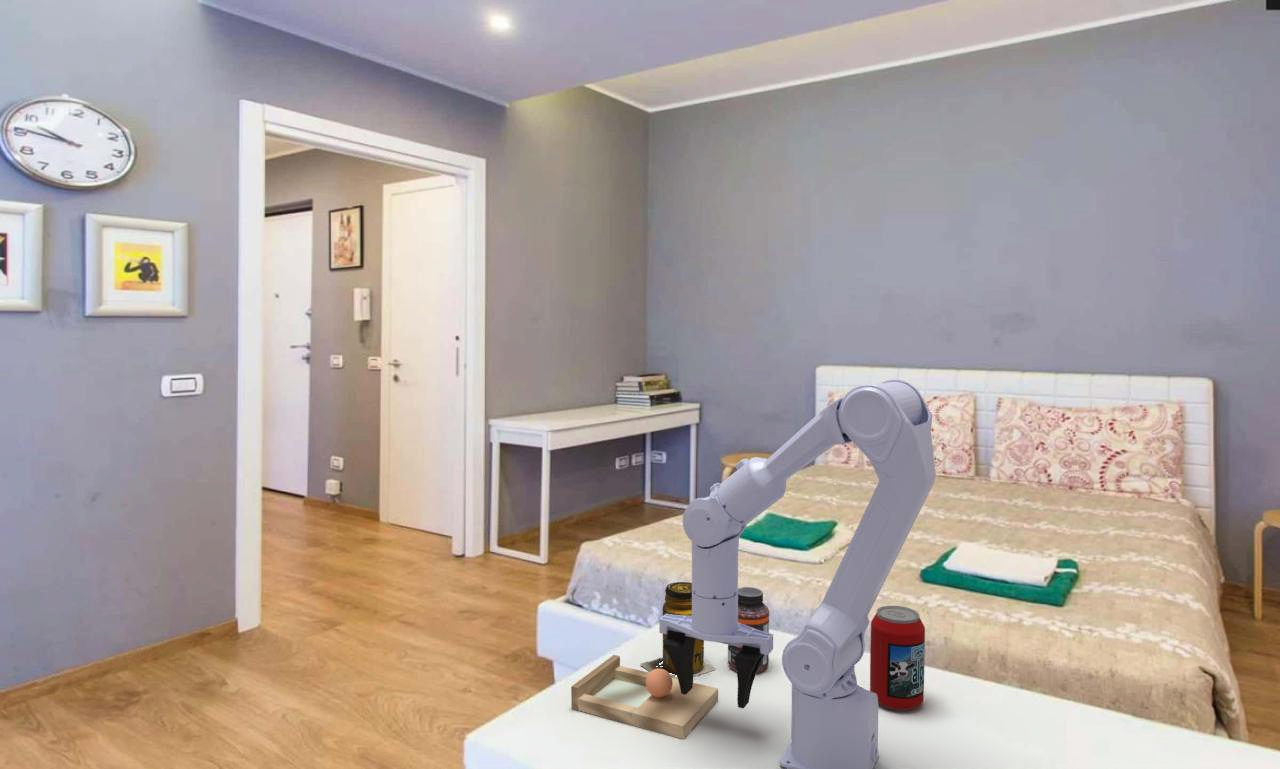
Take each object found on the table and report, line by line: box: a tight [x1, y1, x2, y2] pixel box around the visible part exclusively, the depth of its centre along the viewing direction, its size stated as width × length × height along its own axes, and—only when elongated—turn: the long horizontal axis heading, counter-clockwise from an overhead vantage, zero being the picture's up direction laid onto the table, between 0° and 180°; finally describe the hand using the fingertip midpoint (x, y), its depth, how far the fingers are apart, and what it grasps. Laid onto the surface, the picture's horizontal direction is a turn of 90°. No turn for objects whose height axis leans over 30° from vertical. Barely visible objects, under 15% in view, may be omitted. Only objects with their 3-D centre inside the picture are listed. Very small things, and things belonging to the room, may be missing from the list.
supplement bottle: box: [727, 586, 770, 674], centre depth 111 cm, size 6×6×11 cm
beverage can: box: [869, 605, 926, 711], centre depth 100 cm, size 7×7×12 cm
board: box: [570, 654, 719, 740], centre depth 100 cm, size 16×11×3 cm
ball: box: [646, 669, 673, 697], centre depth 99 cm, size 4×4×4 cm
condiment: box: [640, 581, 717, 679], centre depth 111 cm, size 7×8×12 cm
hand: (714, 697), depth 96 cm, fingers open, 7 cm apart
